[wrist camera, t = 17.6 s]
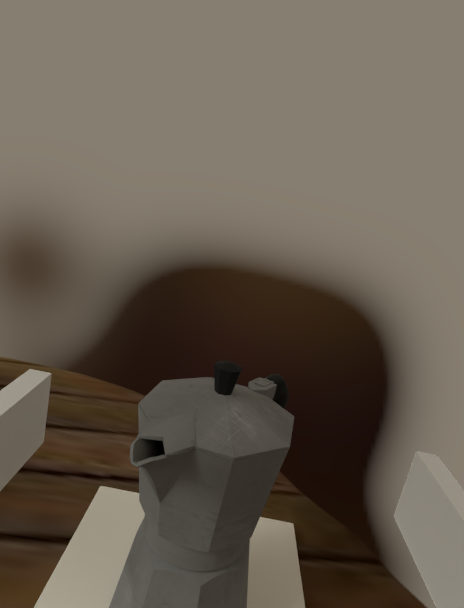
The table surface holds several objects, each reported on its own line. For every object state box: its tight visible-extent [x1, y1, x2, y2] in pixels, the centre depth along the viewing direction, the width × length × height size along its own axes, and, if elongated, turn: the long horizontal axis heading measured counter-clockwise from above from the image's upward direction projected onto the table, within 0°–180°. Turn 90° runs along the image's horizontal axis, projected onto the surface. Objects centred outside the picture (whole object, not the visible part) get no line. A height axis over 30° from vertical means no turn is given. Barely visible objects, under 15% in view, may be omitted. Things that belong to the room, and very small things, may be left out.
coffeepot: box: [109, 361, 294, 608], centre depth 27 cm, size 15×9×18 cm, turn 145°
